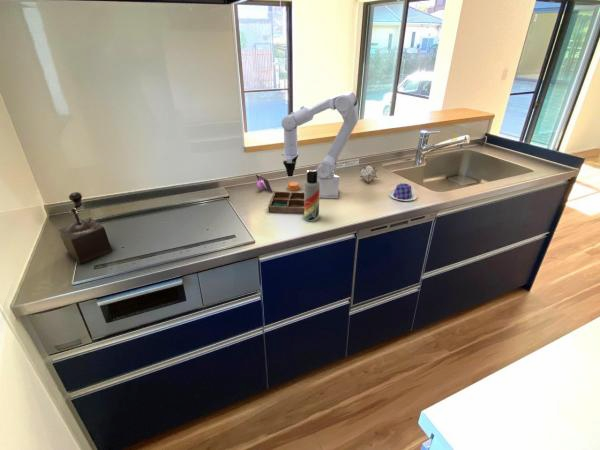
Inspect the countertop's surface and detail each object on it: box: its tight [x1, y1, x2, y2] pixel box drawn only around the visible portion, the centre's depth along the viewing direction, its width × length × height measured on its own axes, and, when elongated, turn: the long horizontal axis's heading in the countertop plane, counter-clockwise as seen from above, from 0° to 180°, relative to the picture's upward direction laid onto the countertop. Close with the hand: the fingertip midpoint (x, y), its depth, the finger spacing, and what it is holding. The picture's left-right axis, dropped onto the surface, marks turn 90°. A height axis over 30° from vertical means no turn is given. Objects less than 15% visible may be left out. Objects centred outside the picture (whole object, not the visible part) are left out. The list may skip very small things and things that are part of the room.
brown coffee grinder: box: [57, 191, 113, 265], centre depth 112 cm, size 16×11×18 cm
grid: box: [268, 190, 304, 215], centre depth 144 cm, size 15×15×3 cm
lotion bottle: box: [303, 169, 320, 222], centre depth 130 cm, size 6×6×20 cm
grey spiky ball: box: [359, 163, 378, 184], centre depth 165 cm, size 9×8×10 cm
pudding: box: [388, 182, 418, 202], centre depth 151 cm, size 12×12×5 cm
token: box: [287, 181, 300, 192], centre depth 159 cm, size 5×5×2 cm
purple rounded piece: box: [255, 174, 273, 193], centre depth 157 cm, size 7×5×9 cm
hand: (291, 173), depth 156 cm, fingers open, 7 cm apart
